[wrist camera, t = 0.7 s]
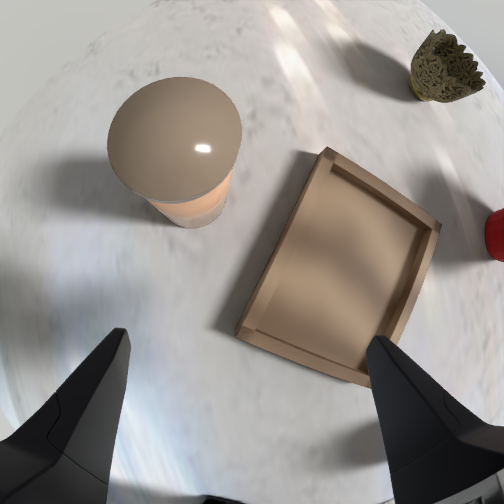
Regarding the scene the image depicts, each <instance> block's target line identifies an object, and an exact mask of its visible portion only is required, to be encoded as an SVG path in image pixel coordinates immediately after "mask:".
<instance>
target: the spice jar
mask: <svg viewBox="0 0 504 504" xmlns="http://www.w3.org/2000/svg"><path fill="white" fill-rule="evenodd" d="M241 137H242V127H241V120H240V117H239V113H238V111H237V109H236V107H235V105H234V103H233V102H232V100H231V99H230V98H229V97H228V96H227V95H226V94H225V93H224V92H223V91H222V90H221V89H219V88H218V87H216V86H214V85H213V84H211V83H208V82H206V81H203V80H200V79H196V78H190V77H173V78H166V79H162V80H159V81H156V82H153V83H151V84H149V85H147V86H145V87H143V88H141V89H140V90H138V91H137V92H135V93H134V94H133V95H132V96H130V97H129V98H128V99H127V100H126V101H125V102H124V103H123V105H122V106H121V107H120V109H119V110H118V111H117V113H116V115H115V117H114V119H113V121H112V123H111V126H110V129H109V133H108V139H107V150H108V156H109V160H110V163H111V166H112V168H113V170H114V172H115V173H116V175H117V176H118V178H119V179H120V180H121V181H122V182H123V183H124V184H125V185H126V186H128V187H129V188H130V189H131V190H132V191H134V192H135V193H136V194H138V195H139V196H141V197H143V198H145V199H146V200H147V201H149V202H150V203H151V204H152V205H153V206H154V207H156V208H157V209H158V210H159V211H160V212H161V213H163V214H164V215H165V216H166V217H167V218H168V219H170V220H171V221H172V222H173V223H175V224H176V225H178V226H181V227H184V228H200V227H204V226H206V225H208V224H210V223H212V222H213V221H214V220H215V219H216V218H217V217H218V216H219V215H220V214H221V212H222V210H223V208H224V206H225V203H226V198H227V193H228V188H229V183H230V178H231V173H232V169H233V166H234V164H235V162H236V159H237V155H238V152H239V148H240V143H241Z"/></svg>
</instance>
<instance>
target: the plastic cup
mask: <svg viewBox="0 0 504 504" xmlns="http://www.w3.org/2000/svg"><path fill="white" fill-rule="evenodd" d="M485 242H486V246H487V250H488V252H489V253H490V255H491V257H493V258H494V259H496V260H498V261H501V262H504V208H503V209H501V210H498V211H496V212H495V213H493V214H491V215H490V216H489V217H488V220H487V222H486V227H485Z"/></svg>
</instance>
